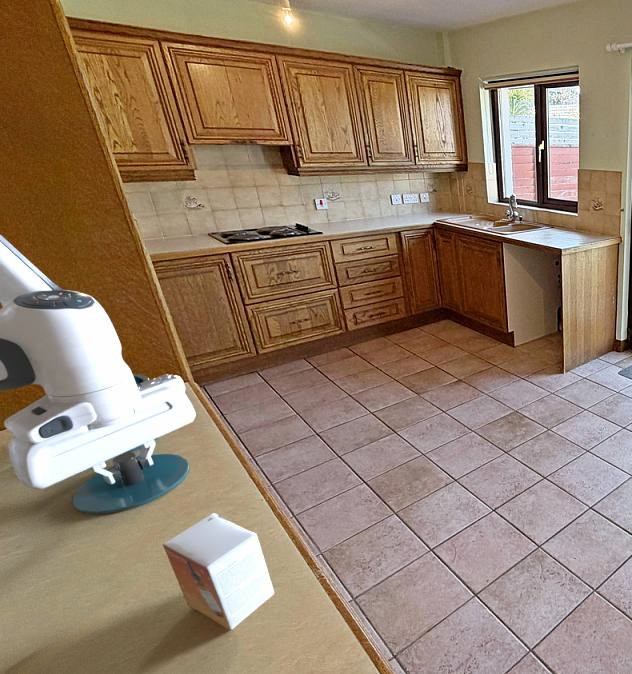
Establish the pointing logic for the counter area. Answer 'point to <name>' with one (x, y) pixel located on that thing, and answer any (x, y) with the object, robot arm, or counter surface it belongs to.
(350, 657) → the counter surface
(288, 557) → the counter surface
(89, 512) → the lid
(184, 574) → the small box
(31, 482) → the robot arm
